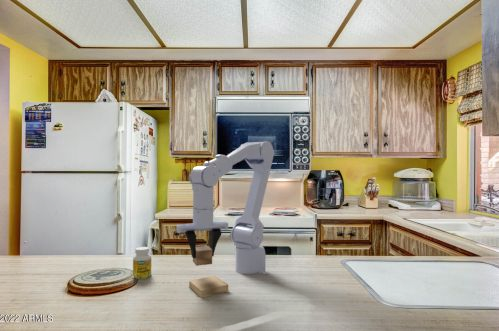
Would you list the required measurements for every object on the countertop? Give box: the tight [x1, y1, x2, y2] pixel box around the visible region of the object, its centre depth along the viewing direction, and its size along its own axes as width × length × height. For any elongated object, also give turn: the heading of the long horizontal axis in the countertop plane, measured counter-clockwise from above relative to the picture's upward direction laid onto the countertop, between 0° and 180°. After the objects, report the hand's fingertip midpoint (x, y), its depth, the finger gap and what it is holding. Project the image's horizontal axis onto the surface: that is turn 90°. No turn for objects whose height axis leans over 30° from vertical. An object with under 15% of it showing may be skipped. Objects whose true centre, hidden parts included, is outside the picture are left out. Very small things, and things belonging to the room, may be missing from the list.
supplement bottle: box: [132, 246, 152, 280], centre depth 95 cm, size 5×5×10 cm
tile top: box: [188, 275, 229, 298], centre depth 85 cm, size 8×8×2 cm
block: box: [192, 245, 213, 267], centre depth 88 cm, size 4×4×4 cm
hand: (202, 256), depth 88 cm, fingers closed on block, 4 cm apart
